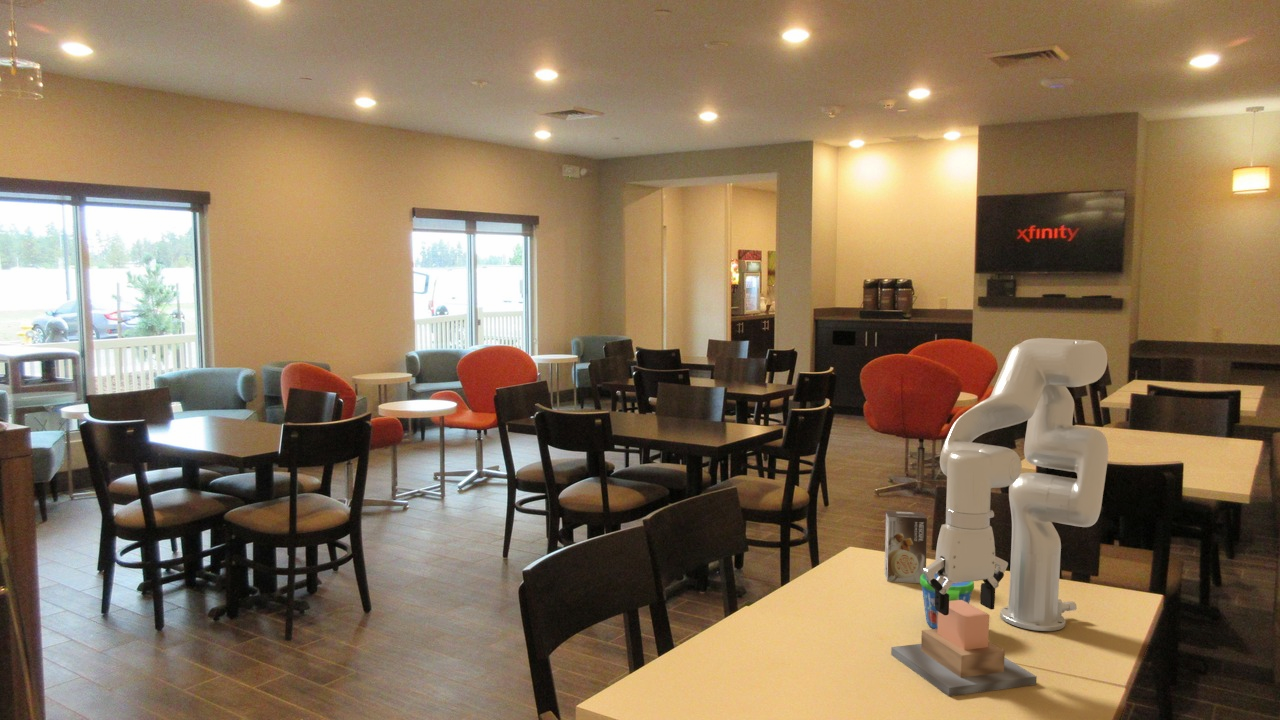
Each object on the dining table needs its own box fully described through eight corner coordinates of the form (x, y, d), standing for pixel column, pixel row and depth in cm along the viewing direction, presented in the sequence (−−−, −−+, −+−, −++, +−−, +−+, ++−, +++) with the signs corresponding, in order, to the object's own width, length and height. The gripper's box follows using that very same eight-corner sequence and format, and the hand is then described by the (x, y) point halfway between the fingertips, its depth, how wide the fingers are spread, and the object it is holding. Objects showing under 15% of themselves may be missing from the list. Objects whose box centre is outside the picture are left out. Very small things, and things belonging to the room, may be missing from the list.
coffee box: (922, 576, 217) (924, 511, 215) (926, 584, 210) (928, 518, 209) (883, 573, 218) (885, 509, 217) (886, 582, 212) (888, 516, 211)
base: (971, 645, 174) (972, 618, 174) (1036, 684, 157) (1037, 654, 157) (891, 654, 169) (892, 626, 169) (948, 696, 152) (950, 665, 152)
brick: (960, 630, 167) (961, 599, 167) (988, 647, 160) (989, 614, 159) (937, 633, 166) (938, 602, 165) (964, 649, 158) (965, 617, 158)
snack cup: (916, 610, 193) (918, 565, 192) (967, 615, 190) (969, 569, 190) (920, 637, 178) (922, 588, 177) (976, 643, 175) (978, 593, 174)
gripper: (994, 509, 167) (991, 597, 169) (914, 517, 162) (911, 607, 164) (1021, 520, 160) (1018, 612, 161) (938, 528, 155) (936, 622, 157)
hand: (964, 609), depth 163 cm, fingers open, 9 cm apart
